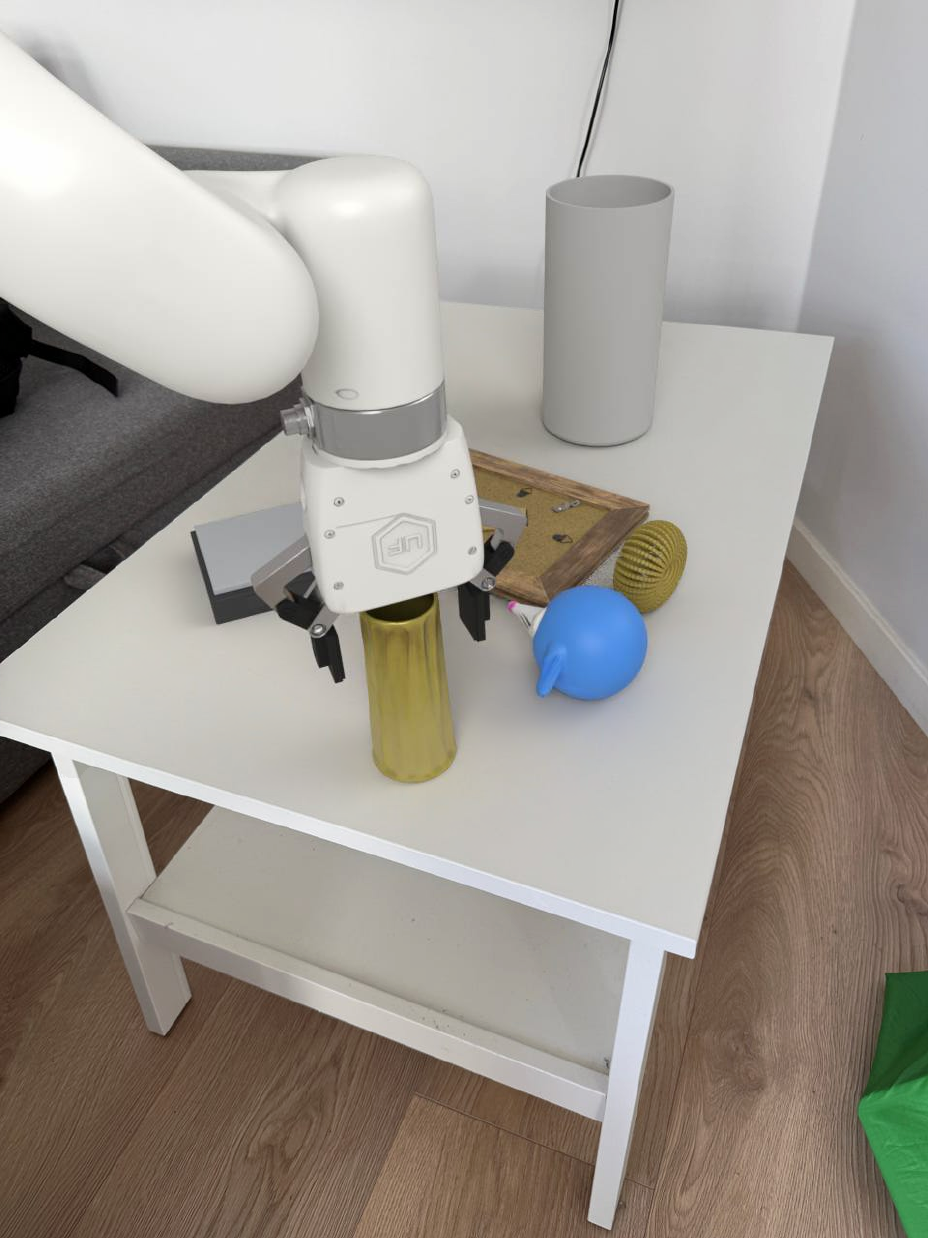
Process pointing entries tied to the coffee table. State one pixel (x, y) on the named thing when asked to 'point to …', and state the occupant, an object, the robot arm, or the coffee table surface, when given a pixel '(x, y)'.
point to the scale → (246, 558)
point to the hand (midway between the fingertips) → (404, 648)
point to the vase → (408, 689)
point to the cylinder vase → (604, 305)
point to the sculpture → (650, 564)
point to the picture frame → (553, 527)
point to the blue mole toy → (585, 641)
